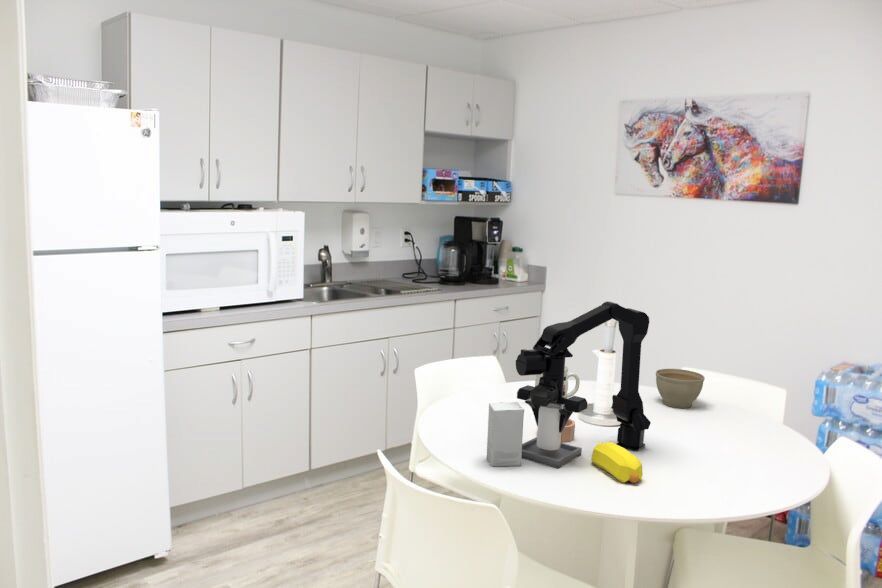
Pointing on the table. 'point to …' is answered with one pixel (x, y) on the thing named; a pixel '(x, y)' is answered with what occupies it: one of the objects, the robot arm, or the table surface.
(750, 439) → the table surface
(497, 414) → the skincare box
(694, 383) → the planter bowl
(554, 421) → the can
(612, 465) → the yellow faceted block
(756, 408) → the table surface
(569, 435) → the ring
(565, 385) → the pitcher
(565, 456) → the tray
